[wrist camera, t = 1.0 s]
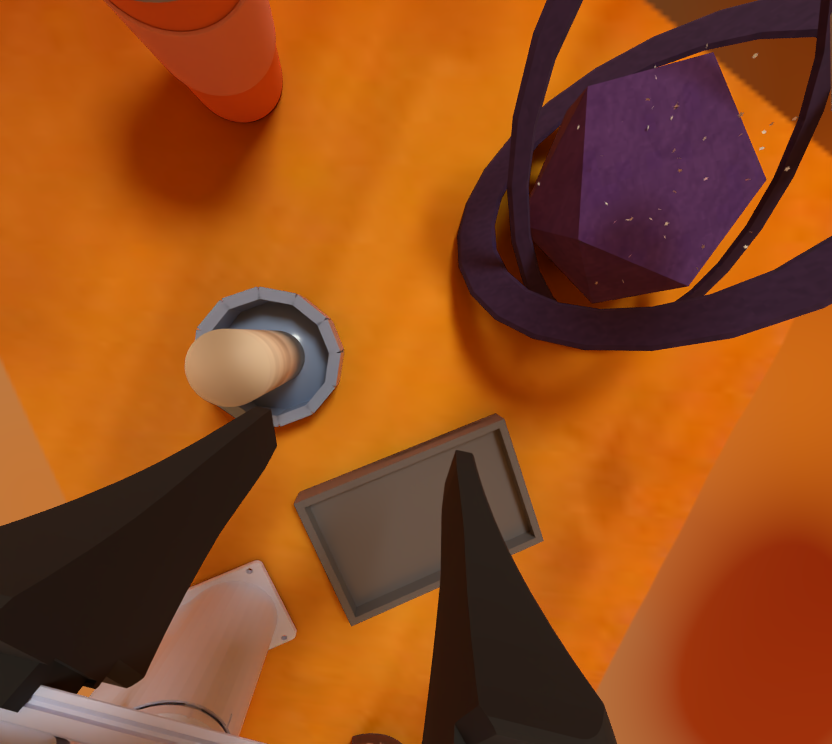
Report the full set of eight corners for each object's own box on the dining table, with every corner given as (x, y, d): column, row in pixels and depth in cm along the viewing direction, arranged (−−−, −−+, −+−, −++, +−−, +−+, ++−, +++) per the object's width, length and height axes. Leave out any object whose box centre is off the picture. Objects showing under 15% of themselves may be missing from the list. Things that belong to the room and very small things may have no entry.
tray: (352, 607, 27) (351, 626, 25) (299, 492, 25) (293, 504, 23) (533, 528, 29) (543, 540, 27) (495, 413, 27) (504, 419, 25)
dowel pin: (263, 390, 23) (206, 418, 16) (241, 341, 23) (170, 344, 15) (313, 371, 24) (282, 390, 16) (292, 323, 23) (249, 317, 15)
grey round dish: (246, 433, 24) (231, 445, 22) (190, 318, 23) (168, 316, 20) (360, 390, 25) (358, 396, 22) (314, 276, 23) (307, 269, 21)
